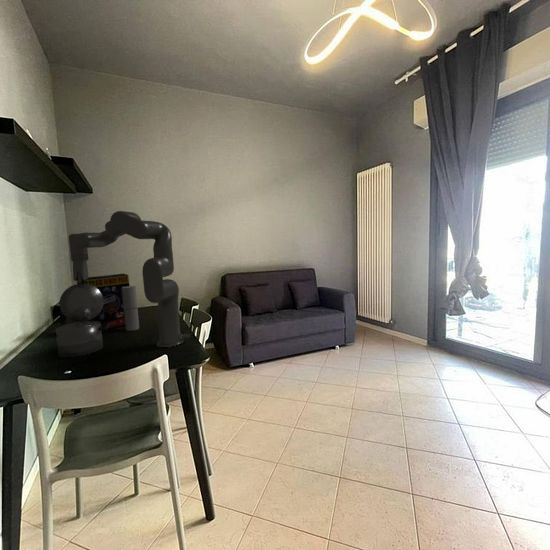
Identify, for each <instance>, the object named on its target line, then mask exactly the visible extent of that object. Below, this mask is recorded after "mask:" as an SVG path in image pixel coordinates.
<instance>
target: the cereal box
mask: <svg viewBox="0 0 550 550" xmlns="http://www.w3.org/2000/svg"><path fill="white" fill-rule="evenodd" d="M129 279H130V276H129V275H128V274H127V273H117V274H110V275H109V274H108V275H97V276H88V279H86V283H87V284H90V285H92V286H94V287H96V288H97V289H98V290H99V291H100V292H101V293H102V295H103V299H104V304H103V308H102V310H101V312H100V313H99V314H98V315H97V316H96V317H94V318H93V319H90V320H88V321H99V322H100V323H101V325H102V324H109V327H108V329H107V330H111V329H115V328H119V327H123V326H124V327H125V326H126V325H125V315H124V305H123V295H122V287H127V286H131V285H130V280H129ZM82 280H83V279H82ZM76 284H79V283H78V280H77V281H76ZM82 322H84V321H82ZM103 331H104V330H101V332H103Z"/></svg>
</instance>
